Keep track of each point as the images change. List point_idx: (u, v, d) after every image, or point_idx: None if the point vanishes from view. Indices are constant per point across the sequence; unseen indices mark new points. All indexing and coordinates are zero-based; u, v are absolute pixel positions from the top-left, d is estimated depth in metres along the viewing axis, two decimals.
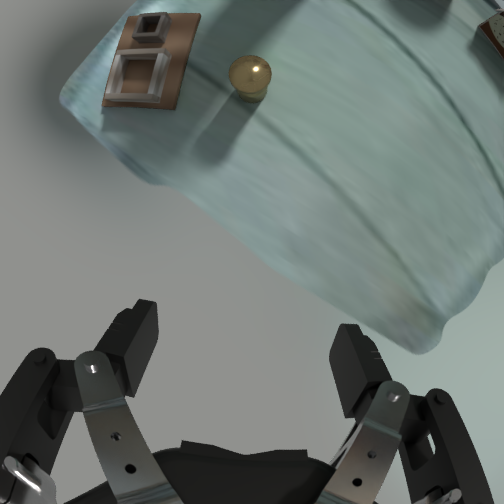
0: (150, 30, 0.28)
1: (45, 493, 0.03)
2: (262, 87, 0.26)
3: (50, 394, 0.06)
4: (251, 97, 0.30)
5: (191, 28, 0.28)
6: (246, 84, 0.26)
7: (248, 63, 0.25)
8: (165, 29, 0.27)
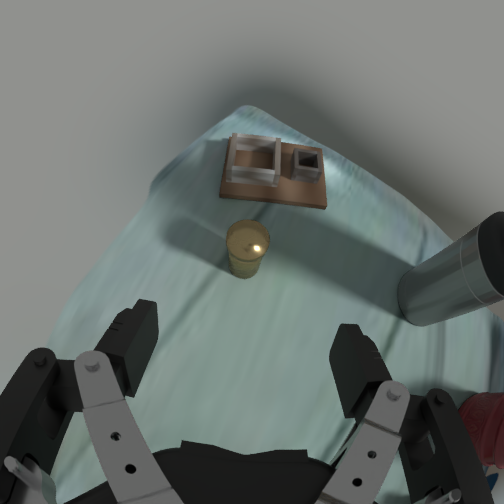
0: (304, 167, 0.43)
1: (45, 493, 0.03)
2: (232, 251, 0.29)
3: (50, 394, 0.06)
4: (229, 255, 0.33)
5: (308, 200, 0.40)
6: (234, 236, 0.29)
7: (259, 236, 0.30)
8: (304, 176, 0.40)
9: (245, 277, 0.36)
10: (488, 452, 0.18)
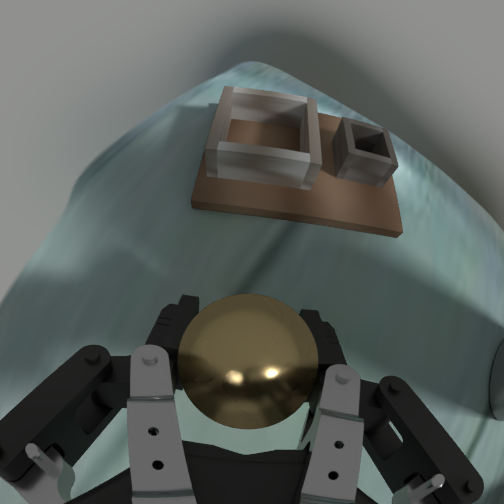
0: None
1: (61, 484, 0.03)
2: (198, 405, 0.08)
3: (102, 392, 0.07)
4: None
5: (370, 220, 0.19)
6: (205, 354, 0.08)
7: (286, 352, 0.09)
8: (363, 172, 0.19)
9: None
10: None
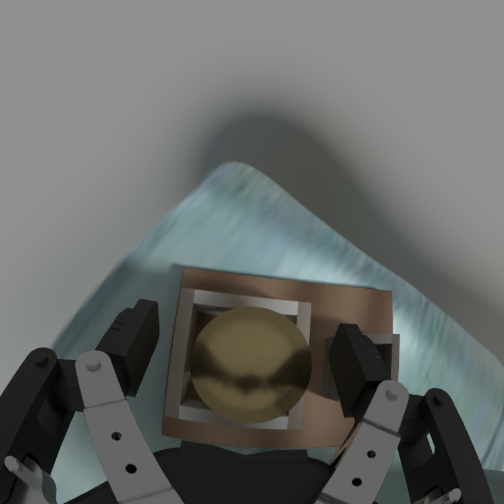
0: None
1: (45, 493, 0.03)
2: (208, 403, 0.09)
3: (51, 394, 0.06)
4: None
5: None
6: (213, 359, 0.10)
7: (284, 357, 0.10)
8: None
9: None
10: None
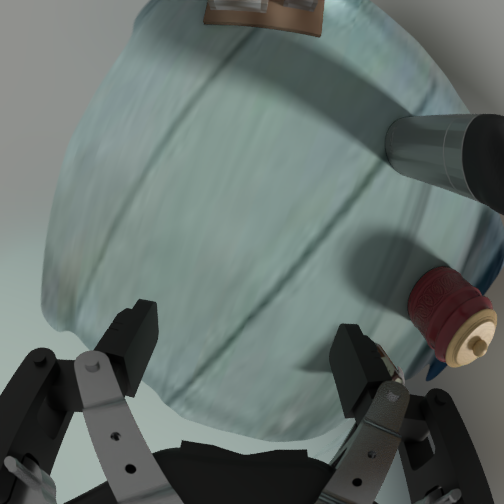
0: None
1: (45, 493, 0.03)
2: None
3: (50, 394, 0.06)
4: None
5: (300, 27, 0.27)
6: None
7: None
8: (297, 5, 0.25)
9: None
10: (433, 335, 0.35)
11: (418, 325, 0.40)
